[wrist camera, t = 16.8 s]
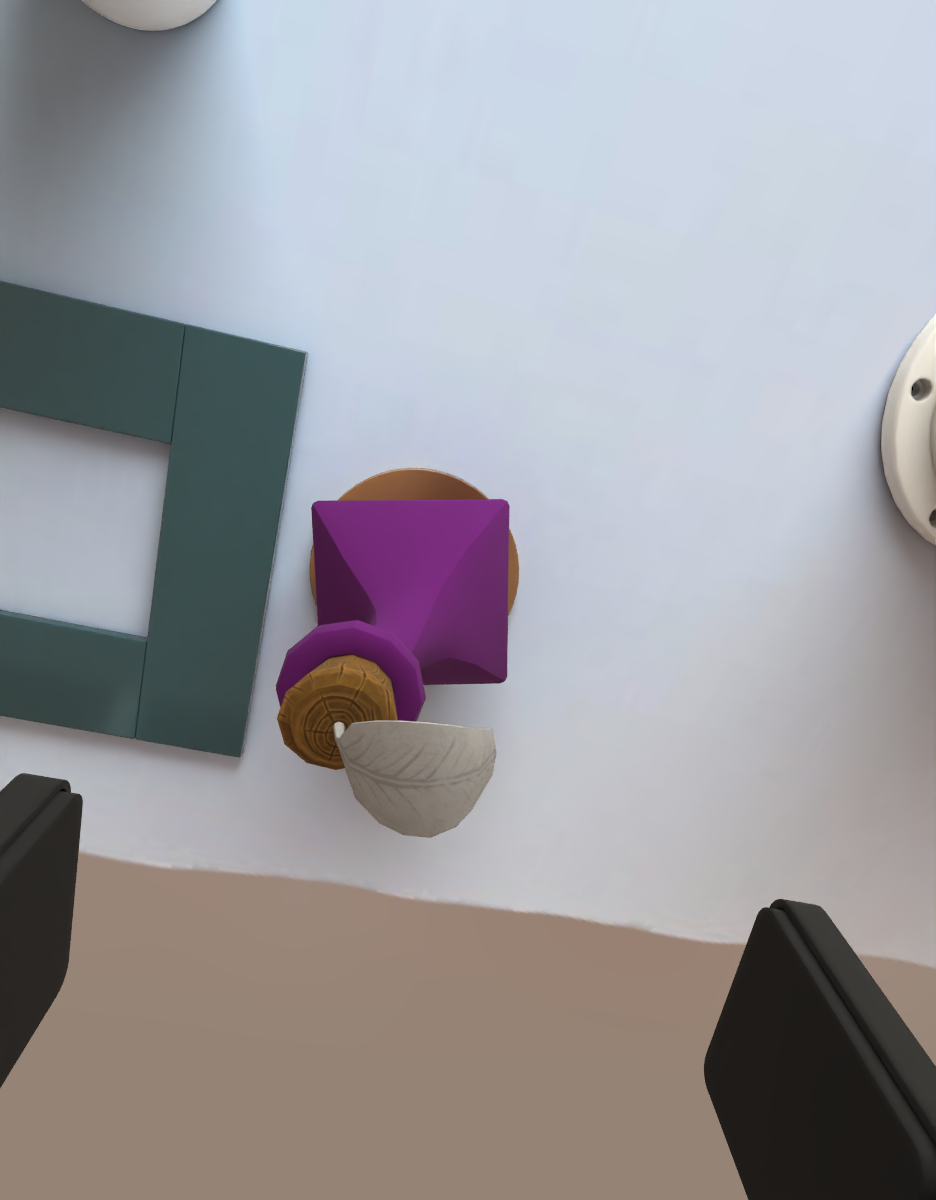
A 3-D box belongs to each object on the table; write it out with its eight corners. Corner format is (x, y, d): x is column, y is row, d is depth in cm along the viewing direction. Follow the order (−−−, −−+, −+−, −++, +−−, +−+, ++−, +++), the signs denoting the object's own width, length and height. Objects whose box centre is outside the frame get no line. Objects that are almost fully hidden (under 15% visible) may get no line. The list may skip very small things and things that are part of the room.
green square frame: (308, 352, 32) (306, 351, 31) (243, 752, 36) (240, 758, 36) (-168, 242, 30) (-180, 239, 29) (-172, 679, 34) (-182, 684, 34)
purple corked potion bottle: (330, 658, 35) (234, 939, 18) (321, 488, 33) (203, 618, 15) (499, 655, 35) (569, 928, 18) (501, 487, 33) (582, 612, 16)
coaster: (539, 492, 34) (541, 494, 33) (492, 685, 36) (492, 688, 36) (330, 446, 33) (329, 448, 32) (295, 647, 35) (293, 650, 35)
